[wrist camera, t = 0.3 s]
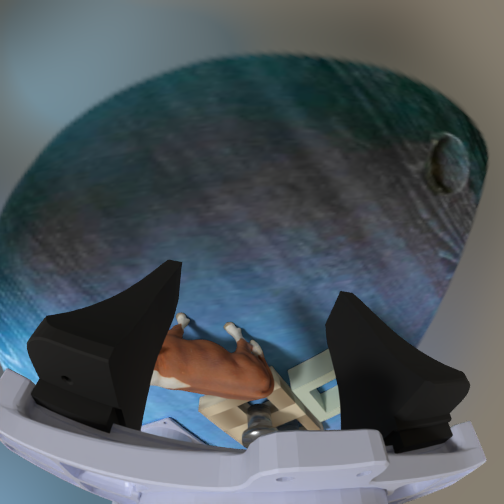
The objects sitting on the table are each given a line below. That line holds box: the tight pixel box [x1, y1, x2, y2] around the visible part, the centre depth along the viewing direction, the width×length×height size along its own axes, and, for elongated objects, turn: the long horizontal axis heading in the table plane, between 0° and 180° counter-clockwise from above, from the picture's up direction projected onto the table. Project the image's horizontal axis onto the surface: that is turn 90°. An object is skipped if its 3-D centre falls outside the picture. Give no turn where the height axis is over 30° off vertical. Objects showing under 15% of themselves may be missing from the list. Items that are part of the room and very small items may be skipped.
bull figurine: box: [150, 313, 274, 401], centre depth 22 cm, size 4×13×8 cm, turn 69°
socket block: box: [198, 366, 324, 445], centre depth 29 cm, size 9×13×2 cm
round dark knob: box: [242, 404, 279, 449], centre depth 25 cm, size 4×4×4 cm
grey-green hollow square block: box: [288, 349, 340, 422], centre depth 27 cm, size 7×7×3 cm
